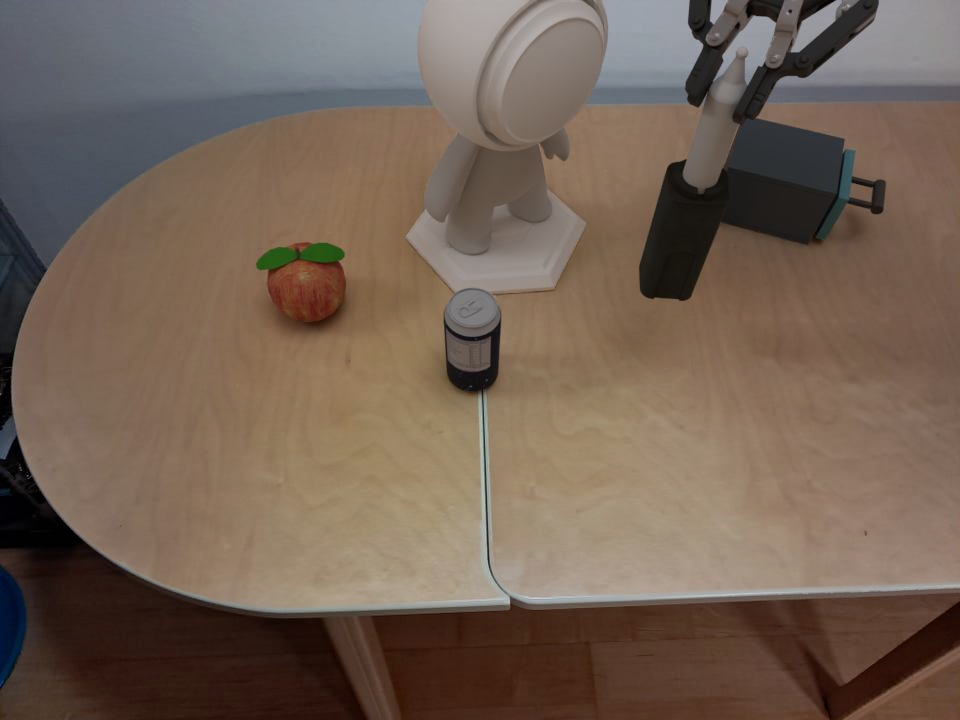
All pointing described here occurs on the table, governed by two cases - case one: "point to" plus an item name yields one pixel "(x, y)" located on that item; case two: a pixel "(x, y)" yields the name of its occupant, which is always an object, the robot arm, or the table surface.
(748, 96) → the robot arm
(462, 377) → the beverage can
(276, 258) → the fruit
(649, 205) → the table surface
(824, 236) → the drawer
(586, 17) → the white toy figurine
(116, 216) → the table surface
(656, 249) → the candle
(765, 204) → the dark grey drawer cabinet
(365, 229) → the table surface
